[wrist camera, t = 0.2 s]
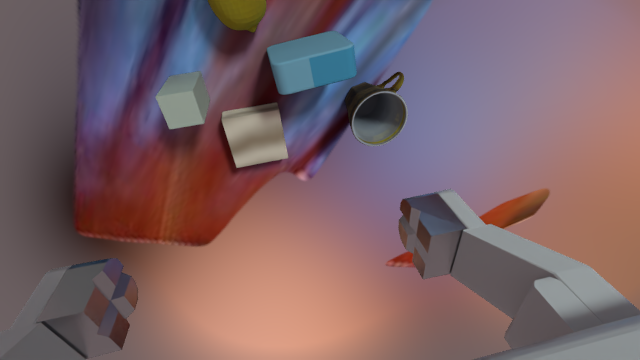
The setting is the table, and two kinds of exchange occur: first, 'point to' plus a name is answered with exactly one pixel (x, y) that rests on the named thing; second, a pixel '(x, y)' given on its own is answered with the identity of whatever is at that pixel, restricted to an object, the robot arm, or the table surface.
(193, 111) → the sage block
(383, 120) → the ceramic cup
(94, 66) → the table surface
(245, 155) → the birch block
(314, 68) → the blue rounded box
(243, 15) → the lemon
